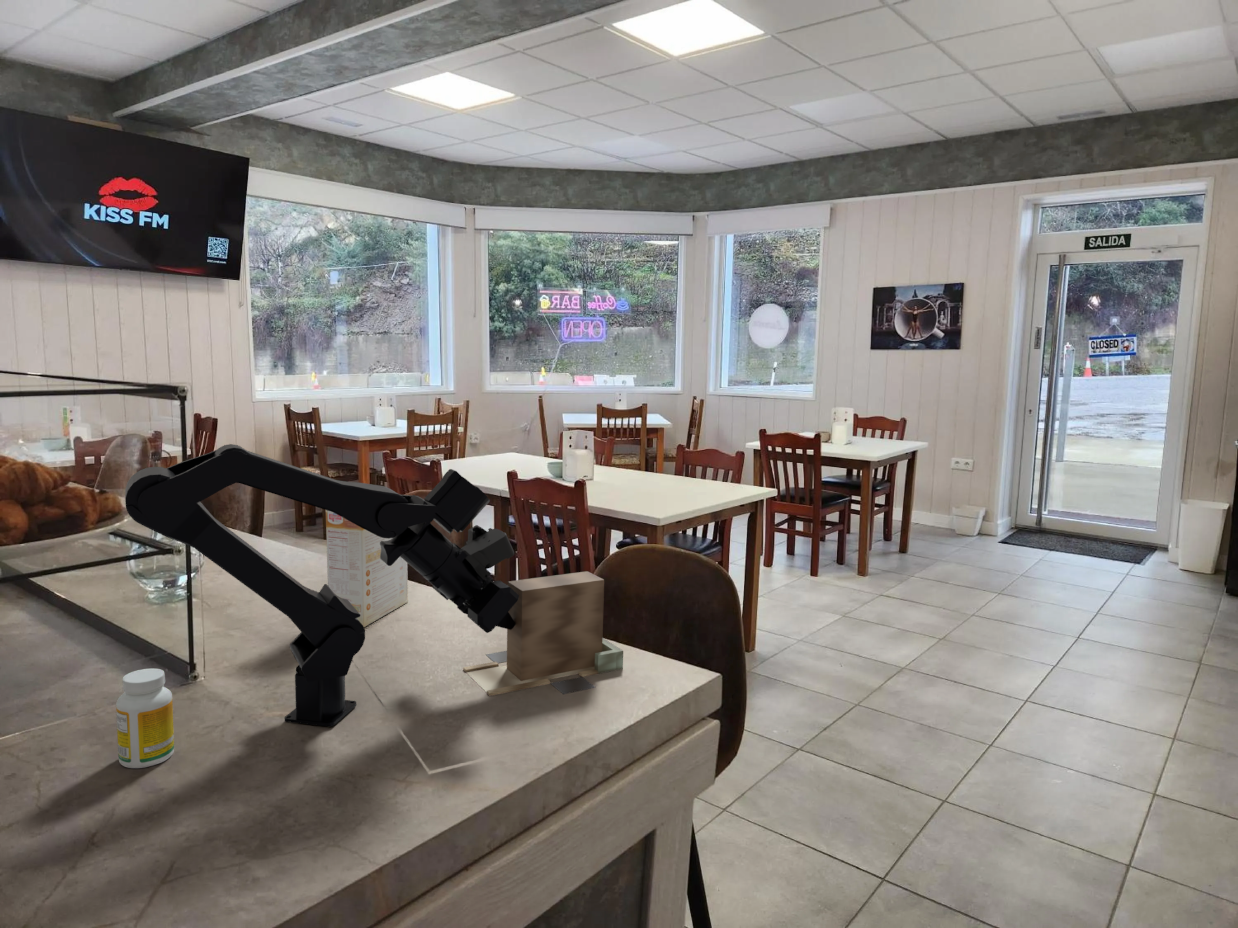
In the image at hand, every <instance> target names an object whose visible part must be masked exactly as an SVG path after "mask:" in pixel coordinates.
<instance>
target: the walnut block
mask: <svg viewBox="0 0 1238 928" xmlns="http://www.w3.org/2000/svg"><path fill="white" fill-rule="evenodd" d="M507 585H508V586H509V587H510V588H512V589H513V590H514V591H515V592H516V593H517V594H518V595H519V598H518V601H517V602H516V603H515V604H514V605H513V607H512V608H511V609H510V610H509V611H508V612H509V614H510V615H511V617H512V619H513V620H514V622H515V623H516V625H515V626H514V627H513V629H511V630H509V629H506V634H507V635H506V651H507V662H506V665H507V669H508V670H509V671H510V672H511V673H512V674H514V675H515V676H516V677H517V678H518V679H519V680H520V681H523V680H529V679H534V678H539V677H544V676H549V675H554V674H559V673H564V672H569V671H574V670H579V669H584V668H589V667H594V666H595V653H599V652H602V639H603V638H604V637H603V634H604V633H603V631H604V629H603V628H604V605H605V604H604V603H605V602H604V601H605V598H604V597H605V579H604V578H603V577H600V576H597V575H596V574H594V573H591V572H590V571H587V570H585V571H580V572H579V571H578V572H571V573H563V574H556V575H548V576H541V577H532V578H524V579H517V580H511V581H507Z"/></svg>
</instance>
